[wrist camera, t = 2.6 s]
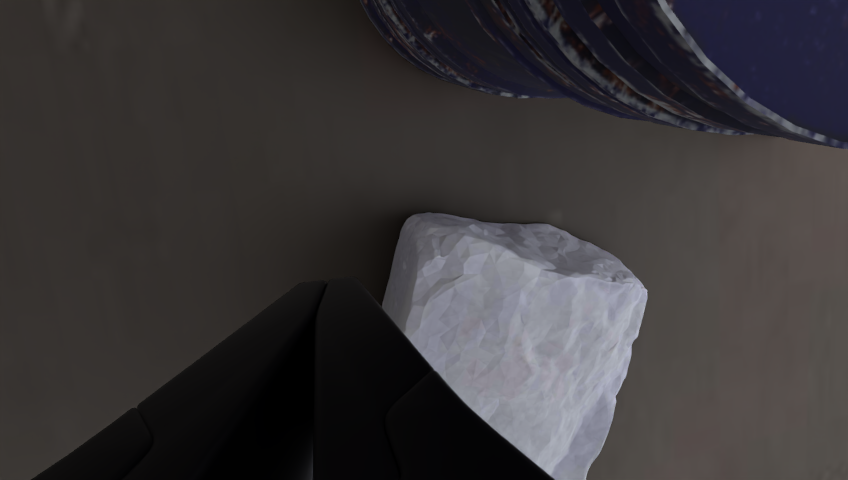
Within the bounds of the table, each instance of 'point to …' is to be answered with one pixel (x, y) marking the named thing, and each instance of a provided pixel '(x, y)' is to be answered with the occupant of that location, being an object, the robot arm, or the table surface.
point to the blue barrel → (644, 58)
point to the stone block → (520, 328)
